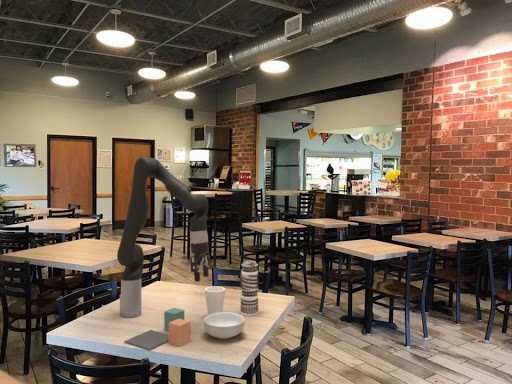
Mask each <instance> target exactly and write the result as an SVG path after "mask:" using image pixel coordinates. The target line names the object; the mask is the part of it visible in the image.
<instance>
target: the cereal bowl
mask: <svg viewBox="0 0 512 384" xmlns="http://www.w3.org/2000/svg"><path fill="white" fill-rule="evenodd" d="M245 324H246V319H245V317H244V315H242V314H239V313H236V312H229V311H227V312H226V311H222V312H218V313H213V314H210V315H208V314H207V315H206V316H205V317H204V318H203V327H204V329H205V332H206V333H207V334H209V335H210V336H212V337H215V338H216V339H220V340H228V339H231V338H232V337H233V338H234V337H235V336H237V335H239V334H241V333H242V332H243V330H244V327H245Z"/></svg>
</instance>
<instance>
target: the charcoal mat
mask: <svg viewBox="0 0 512 384" xmlns="http://www.w3.org/2000/svg"><path fill="white" fill-rule="evenodd" d="M123 342H124V343H125V344H128V345H131V346H134V347H137V348H141V349H143V350H147V351H152V350H154V349H156V348H158V347H160V346H163V345H164V344H167V343H169V333H165V332H164V333H163V332H161V331H157V330H152V329H149V330H147V331H145V332H142V333H139V334H138V335H135V336H133V337H131V338H128V339H126V340H124V341H123Z"/></svg>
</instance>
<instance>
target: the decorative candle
mask: <svg viewBox="0 0 512 384" xmlns="http://www.w3.org/2000/svg"><path fill="white" fill-rule="evenodd" d="M240 265H241V271H240V273H241V274H240V275H239V276H240V279H239V280H240V290H241V295H240V296H241V297H240V315H241V316H248V317H249V316H250V317H253V316H256V315H257V316H258V314H259V298H258V297H259V295H258V290H259V286H258V285H259V283H260V282H259V280H260V279H259V278H258V277H260V275H259V271H258V266H259V263H257V262H256V261H255V260H252V259H251V260H249V259H248V260H243V262H242V263H241V264H240Z"/></svg>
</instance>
